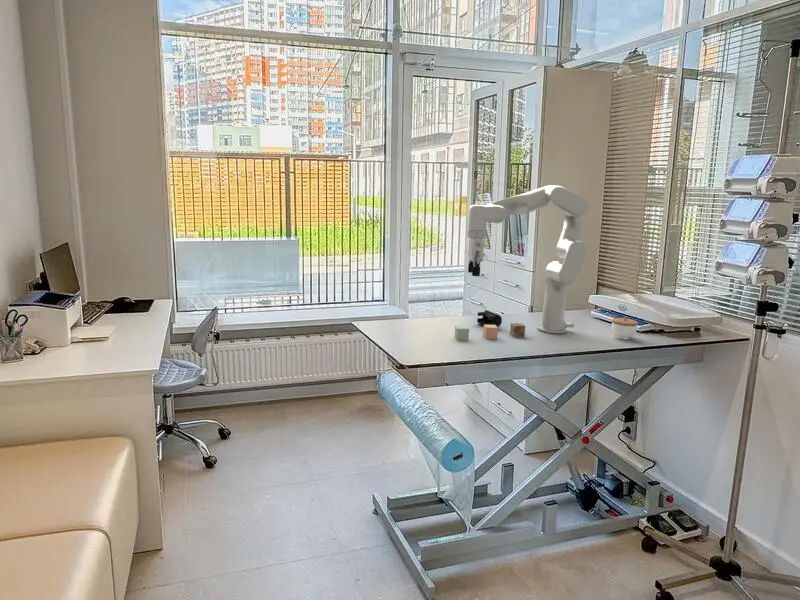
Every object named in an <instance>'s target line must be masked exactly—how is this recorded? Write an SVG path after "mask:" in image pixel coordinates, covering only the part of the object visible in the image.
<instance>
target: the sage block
mask: <svg viewBox="0 0 800 600" xmlns="http://www.w3.org/2000/svg"><path fill="white" fill-rule="evenodd" d="M469 337H470V328H469V326H467V325H455V326H454V338H456V339H455V340H456V341H469V339H470V338H469Z"/></svg>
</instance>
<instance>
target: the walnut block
mask: <svg viewBox="0 0 800 600" xmlns="http://www.w3.org/2000/svg"><path fill="white" fill-rule="evenodd" d="M509 334H510V335H511V336H512V337H514V338H525V335H526V325H525V324H524V323H521V322H511V323H510V331H509Z"/></svg>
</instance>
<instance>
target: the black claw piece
mask: <svg viewBox="0 0 800 600" xmlns="http://www.w3.org/2000/svg"><path fill="white" fill-rule="evenodd" d="M477 316H478V318H477V319H476V322H477V324H478V325H477V326H479V325H480V326H479V327H481V326H483V327H484V325H496V326H497V327H498V328H499V327H500V326H501V324H502V323H503V322H502V321H503V318H502V316H501V314H498V313H495V312H492V311H490V310H487V309H484V311H478V312H477ZM480 316H481V317H482V318H481V317H480ZM479 317H480V318H479ZM483 327H482V328H483Z"/></svg>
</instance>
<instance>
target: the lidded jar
mask: <svg viewBox="0 0 800 600" xmlns="http://www.w3.org/2000/svg"><path fill="white" fill-rule="evenodd" d="M638 325H639V322H638V321H637V320H635V319H632V318H631V319H630V318H628V317H627V316H624V317H615V318H612V320H611V330H612V333H613V335H614V336H615V337H616V336H617V337H621V338H630V339H631V338H633V337H634V336H635V335H636V332H637V329H638Z"/></svg>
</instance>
